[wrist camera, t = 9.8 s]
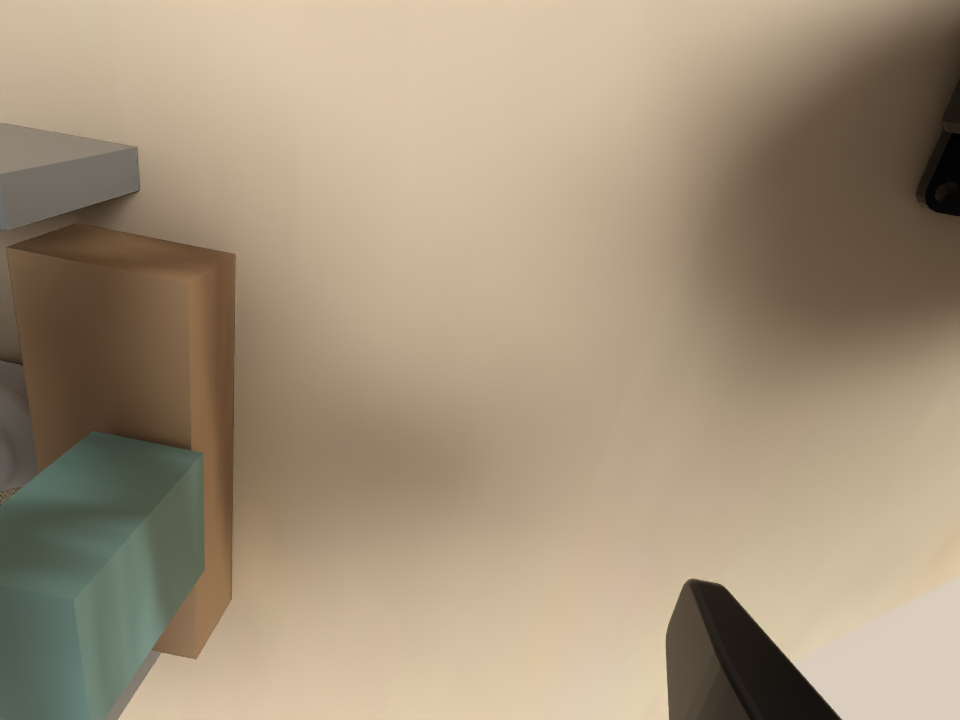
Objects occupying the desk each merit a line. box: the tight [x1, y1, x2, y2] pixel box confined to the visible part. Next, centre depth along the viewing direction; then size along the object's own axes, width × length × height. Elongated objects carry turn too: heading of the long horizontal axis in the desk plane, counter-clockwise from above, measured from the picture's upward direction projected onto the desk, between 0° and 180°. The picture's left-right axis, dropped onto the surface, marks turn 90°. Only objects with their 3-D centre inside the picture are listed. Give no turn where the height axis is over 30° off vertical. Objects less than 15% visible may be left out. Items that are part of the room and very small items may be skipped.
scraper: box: [0, 223, 235, 720], centre depth 18 cm, size 5×14×9 cm, turn 170°
